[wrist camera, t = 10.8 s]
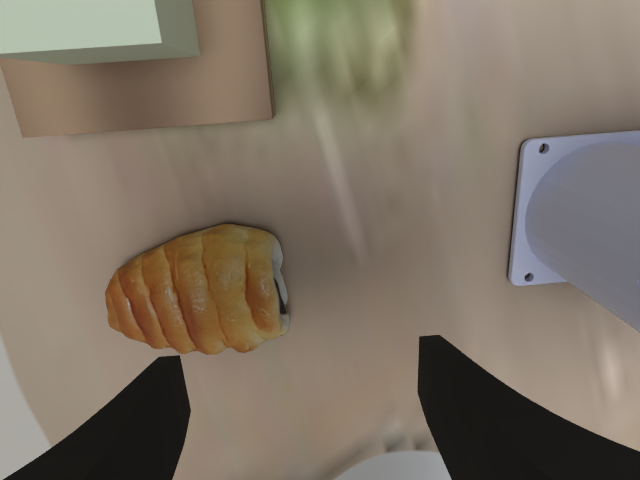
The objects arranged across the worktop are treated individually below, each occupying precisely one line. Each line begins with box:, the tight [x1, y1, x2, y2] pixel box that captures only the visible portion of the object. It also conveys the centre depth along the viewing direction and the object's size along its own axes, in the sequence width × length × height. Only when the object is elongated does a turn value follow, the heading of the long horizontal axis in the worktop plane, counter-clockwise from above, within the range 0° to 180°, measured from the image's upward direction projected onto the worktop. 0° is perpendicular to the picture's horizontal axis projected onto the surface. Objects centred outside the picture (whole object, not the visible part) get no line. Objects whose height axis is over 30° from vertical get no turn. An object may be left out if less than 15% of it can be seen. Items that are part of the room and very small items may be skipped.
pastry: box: [105, 224, 290, 355], centre depth 21 cm, size 9×7×4 cm
